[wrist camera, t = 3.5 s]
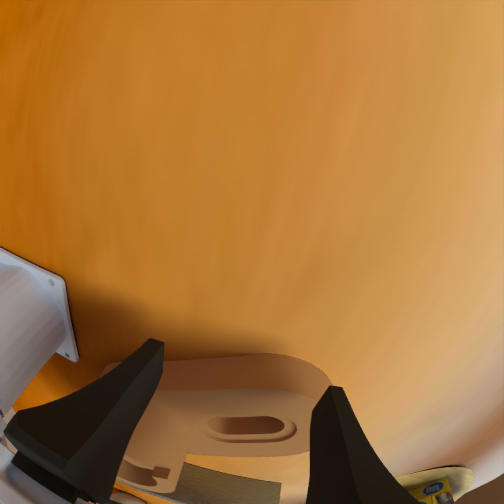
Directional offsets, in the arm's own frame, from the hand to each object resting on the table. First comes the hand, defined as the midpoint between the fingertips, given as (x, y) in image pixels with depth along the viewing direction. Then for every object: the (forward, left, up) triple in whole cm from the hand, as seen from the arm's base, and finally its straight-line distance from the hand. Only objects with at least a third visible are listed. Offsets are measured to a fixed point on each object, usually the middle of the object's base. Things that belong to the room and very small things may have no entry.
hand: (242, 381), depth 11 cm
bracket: (-2, -8, -4) cm, 9 cm away
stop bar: (0, -24, -4) cm, 24 cm away
